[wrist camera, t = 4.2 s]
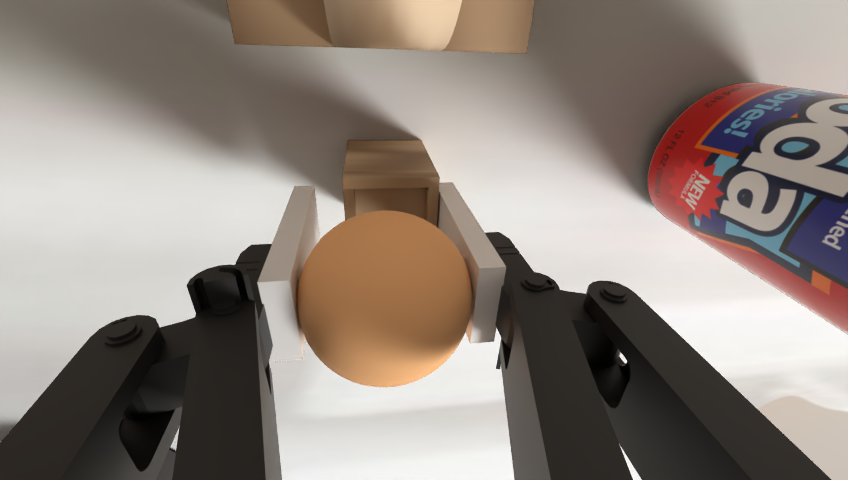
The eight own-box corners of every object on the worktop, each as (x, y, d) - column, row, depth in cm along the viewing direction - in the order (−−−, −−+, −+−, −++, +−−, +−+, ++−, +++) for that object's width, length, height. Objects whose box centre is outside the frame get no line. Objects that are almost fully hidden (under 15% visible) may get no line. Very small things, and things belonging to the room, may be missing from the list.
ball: (315, 313, 14) (298, 439, 10) (298, 187, 12) (264, 280, 7) (446, 303, 15) (484, 416, 10) (456, 182, 12) (510, 265, 8)
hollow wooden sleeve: (352, 207, 20) (348, 261, 15) (347, 140, 18) (342, 178, 14) (419, 206, 20) (435, 258, 16) (421, 140, 19) (439, 177, 14)
